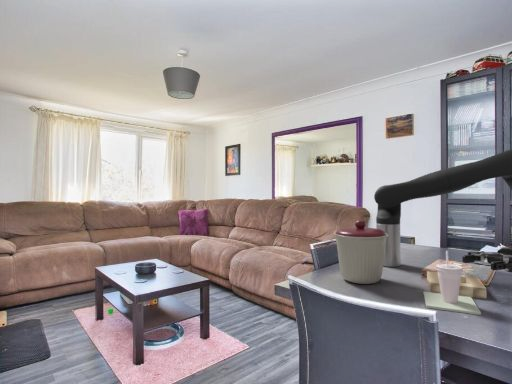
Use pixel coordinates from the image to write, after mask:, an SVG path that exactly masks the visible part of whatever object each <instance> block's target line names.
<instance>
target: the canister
mask: <svg viewBox="0 0 512 384" xmlns="http://www.w3.org/2000/svg"><path fill="white" fill-rule="evenodd" d="M333 235H334V236H335V241H336V249H337V256H338V257H337V259H338V264H339V271H340V275H341V277H342V278H343V279H344V280H346V282H350V283H354V284H360V285H371V284H376V283H378V282H379V281H380V280H381V279H382V276H383V270H384V266H383V263H384V254H385V245H386V237H388V234H387V233H385V232H384V231H382V230H380V229H376V227H375V228H374V227H367V226H366V222H365V221H364V220H363V219H361V220H360V219H359V220H356V221H355V223H354V227H353V226H352V227H343V228H342V227H341V228H339V229H337V230H336V231H333Z"/></svg>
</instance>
